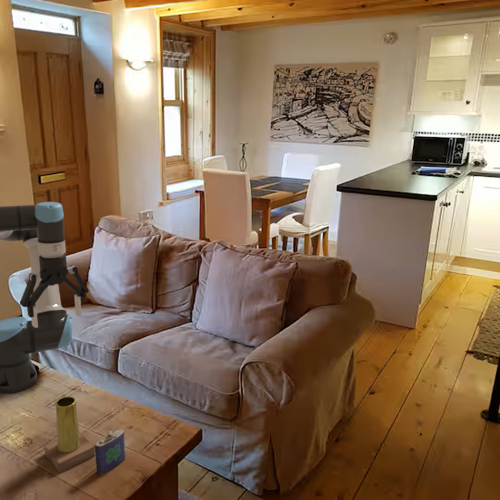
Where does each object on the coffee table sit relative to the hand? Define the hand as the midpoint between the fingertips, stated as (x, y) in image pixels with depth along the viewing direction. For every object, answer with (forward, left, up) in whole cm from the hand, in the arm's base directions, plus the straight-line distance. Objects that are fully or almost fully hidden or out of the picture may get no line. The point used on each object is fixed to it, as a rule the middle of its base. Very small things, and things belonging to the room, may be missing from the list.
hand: (57, 320), depth 147 cm
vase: (+22, -8, -29) cm, 37 cm away
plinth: (+22, -8, -32) cm, 39 cm away
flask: (+34, -1, -32) cm, 46 cm away
